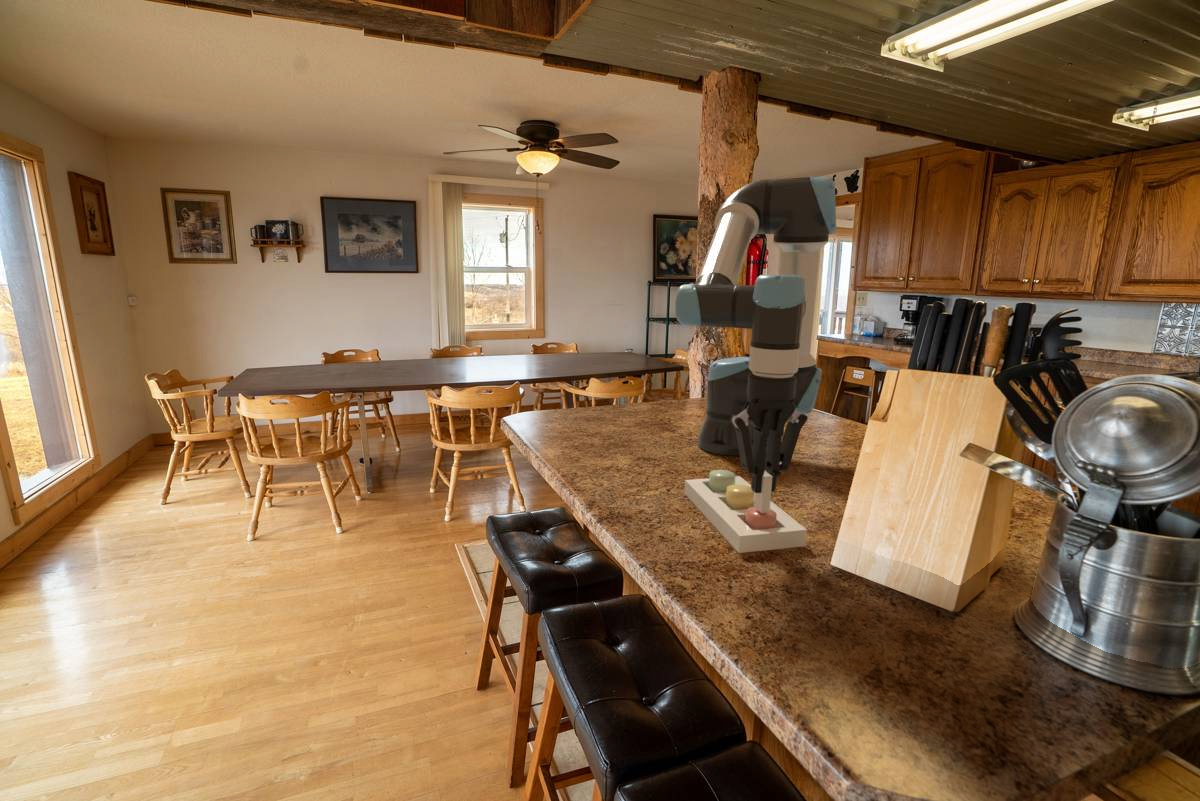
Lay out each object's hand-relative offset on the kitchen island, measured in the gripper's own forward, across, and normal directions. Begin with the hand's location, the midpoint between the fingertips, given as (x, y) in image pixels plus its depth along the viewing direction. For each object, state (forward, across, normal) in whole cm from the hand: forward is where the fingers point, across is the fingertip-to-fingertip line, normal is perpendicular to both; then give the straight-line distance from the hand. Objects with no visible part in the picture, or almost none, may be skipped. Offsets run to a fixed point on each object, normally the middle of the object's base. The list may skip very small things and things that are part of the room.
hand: (761, 509), depth 94 cm
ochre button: (+3, 0, -8) cm, 8 cm away
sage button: (+3, 0, -16) cm, 16 cm away
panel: (+5, 0, -8) cm, 9 cm away
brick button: (+4, 0, 0) cm, 4 cm away
